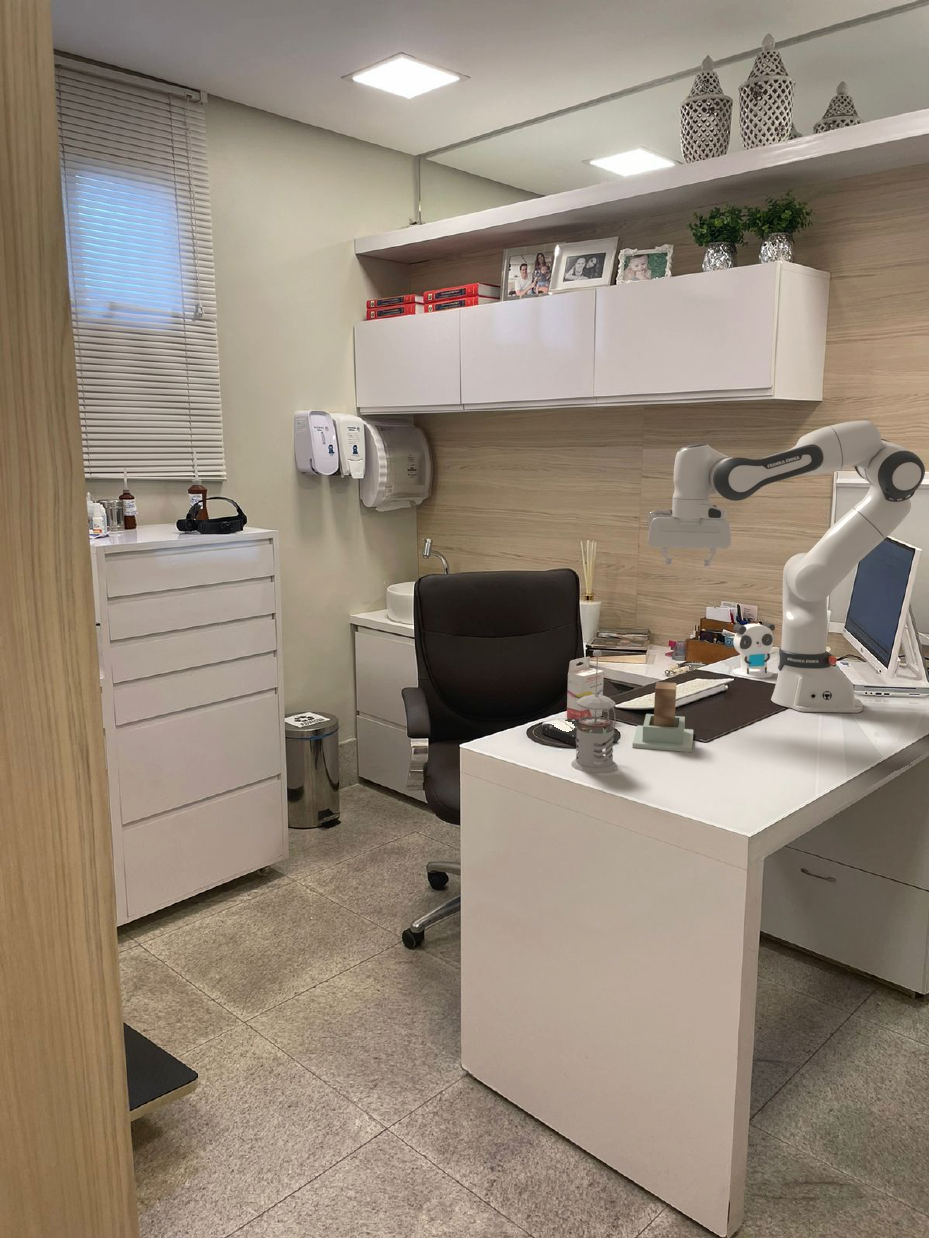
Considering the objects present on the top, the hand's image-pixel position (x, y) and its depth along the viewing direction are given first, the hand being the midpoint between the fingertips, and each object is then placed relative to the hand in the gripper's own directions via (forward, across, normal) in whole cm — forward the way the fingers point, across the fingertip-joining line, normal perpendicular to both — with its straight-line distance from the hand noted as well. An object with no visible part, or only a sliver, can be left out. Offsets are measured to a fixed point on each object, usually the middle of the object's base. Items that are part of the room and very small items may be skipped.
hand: (687, 565), depth 235 cm
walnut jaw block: (+36, -3, -28) cm, 46 cm away
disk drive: (+38, -22, -31) cm, 54 cm away
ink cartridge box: (+37, -23, -14) cm, 46 cm away
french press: (+37, -16, -48) cm, 63 cm away
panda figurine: (+37, +19, +44) cm, 61 cm away
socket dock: (+37, -3, -28) cm, 47 cm away
